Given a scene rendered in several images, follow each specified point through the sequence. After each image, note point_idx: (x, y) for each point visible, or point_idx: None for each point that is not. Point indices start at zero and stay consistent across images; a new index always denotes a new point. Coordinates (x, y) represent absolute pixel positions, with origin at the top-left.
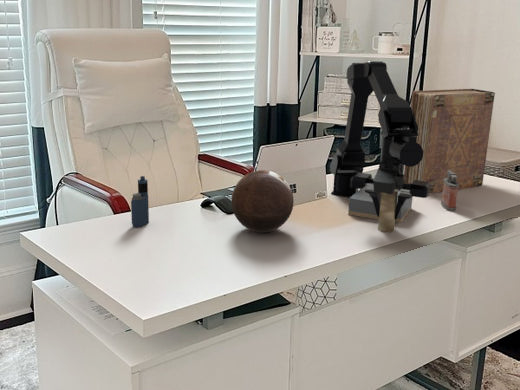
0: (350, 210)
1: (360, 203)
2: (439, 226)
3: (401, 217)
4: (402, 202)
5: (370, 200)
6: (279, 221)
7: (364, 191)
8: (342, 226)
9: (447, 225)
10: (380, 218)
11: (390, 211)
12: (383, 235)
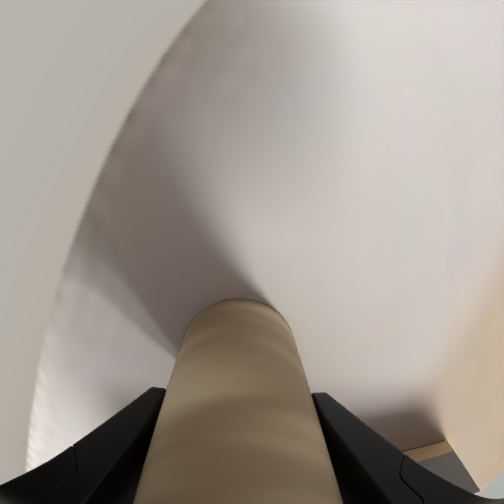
0: (447, 455)
1: None
2: (42, 453)
3: None
4: (13, 488)
5: None
6: None
7: None
8: (487, 271)
9: (32, 463)
10: (291, 362)
11: (185, 413)
12: (228, 220)
